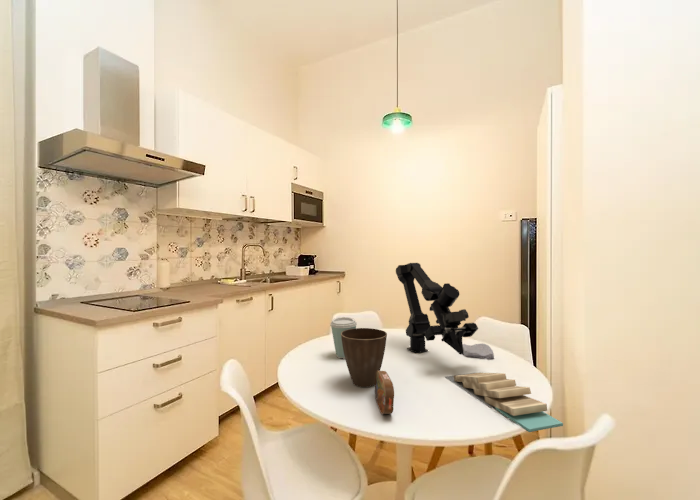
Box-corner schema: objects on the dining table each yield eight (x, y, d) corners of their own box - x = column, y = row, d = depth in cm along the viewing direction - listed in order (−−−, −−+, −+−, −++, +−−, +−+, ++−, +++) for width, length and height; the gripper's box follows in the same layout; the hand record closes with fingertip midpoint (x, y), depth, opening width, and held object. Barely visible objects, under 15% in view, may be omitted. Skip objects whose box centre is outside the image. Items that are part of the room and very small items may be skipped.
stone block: (496, 364, 123) (487, 351, 132) (496, 353, 122) (487, 341, 132) (465, 364, 124) (458, 352, 133) (465, 353, 123) (458, 341, 132)
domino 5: (495, 406, 83) (529, 429, 73) (526, 401, 86) (563, 423, 75) (495, 412, 83) (529, 436, 73) (526, 407, 86) (563, 429, 75)
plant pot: (331, 381, 102) (331, 332, 102) (365, 370, 112) (365, 325, 112) (362, 397, 91) (362, 342, 91) (396, 383, 100) (396, 333, 100)
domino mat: (443, 377, 105) (443, 376, 105) (474, 373, 108) (474, 372, 108) (490, 409, 84) (490, 408, 84) (526, 403, 87) (526, 401, 87)
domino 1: (453, 375, 101) (477, 377, 91) (479, 372, 104) (505, 373, 93) (454, 381, 101) (478, 383, 90) (480, 377, 104) (506, 379, 93)
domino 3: (473, 388, 92) (497, 391, 82) (502, 384, 94) (529, 387, 84) (474, 394, 92) (499, 398, 81) (503, 390, 94) (531, 393, 84)
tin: (373, 394, 93) (373, 365, 93) (384, 393, 94) (384, 365, 94) (383, 421, 78) (383, 387, 78) (395, 420, 78) (395, 387, 79)
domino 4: (484, 395, 87) (512, 408, 77) (514, 391, 90) (546, 403, 79) (484, 401, 87) (513, 415, 77) (515, 397, 89) (547, 410, 79)
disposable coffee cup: (356, 361, 121) (356, 322, 121) (329, 360, 121) (329, 322, 122) (356, 352, 132) (356, 316, 132) (331, 352, 132) (331, 316, 132)
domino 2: (462, 381, 97) (485, 383, 87) (489, 378, 100) (514, 379, 90) (463, 387, 96) (487, 390, 87) (490, 383, 99) (516, 385, 89)
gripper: (429, 302, 107) (447, 344, 97) (475, 300, 113) (497, 339, 102) (417, 320, 115) (433, 360, 105) (461, 317, 120) (480, 355, 110)
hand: (461, 353), depth 105 cm, fingers closed
